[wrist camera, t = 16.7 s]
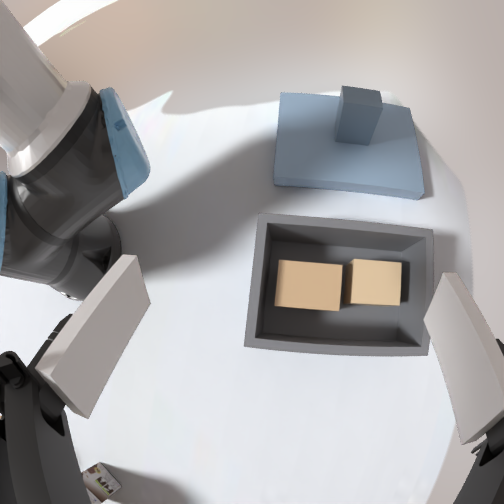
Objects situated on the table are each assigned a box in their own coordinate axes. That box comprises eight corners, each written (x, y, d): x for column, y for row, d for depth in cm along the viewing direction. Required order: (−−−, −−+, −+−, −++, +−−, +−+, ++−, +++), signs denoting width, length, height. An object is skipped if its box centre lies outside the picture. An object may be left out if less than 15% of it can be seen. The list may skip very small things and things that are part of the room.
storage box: (254, 338, 37) (243, 346, 28) (265, 234, 39) (258, 212, 30) (399, 347, 34) (427, 355, 25) (405, 247, 36) (432, 229, 28)
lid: (274, 185, 41) (267, 140, 29) (281, 103, 44) (276, 52, 32) (417, 200, 37) (452, 164, 26) (405, 117, 40) (426, 73, 29)
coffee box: (99, 460, 35) (43, 493, 19) (123, 486, 33) (73, 526, 18) (79, 473, 34) (28, 501, 19) (101, 497, 33) (54, 531, 17)
